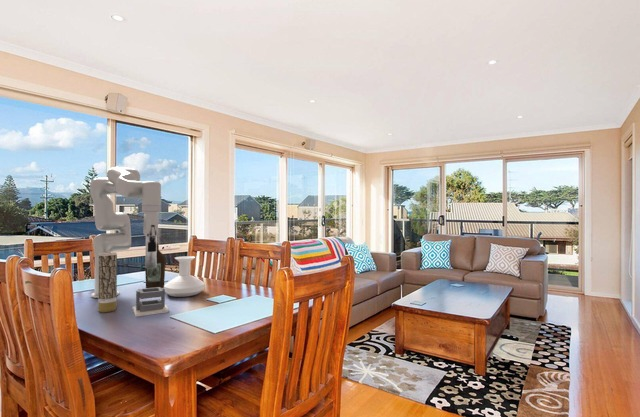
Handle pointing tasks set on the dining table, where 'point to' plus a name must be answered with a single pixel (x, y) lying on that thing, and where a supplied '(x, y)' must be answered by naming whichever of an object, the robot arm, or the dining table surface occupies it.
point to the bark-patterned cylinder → (107, 282)
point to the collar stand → (150, 302)
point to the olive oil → (156, 272)
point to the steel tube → (150, 256)
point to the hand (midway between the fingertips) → (151, 250)
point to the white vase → (184, 280)
